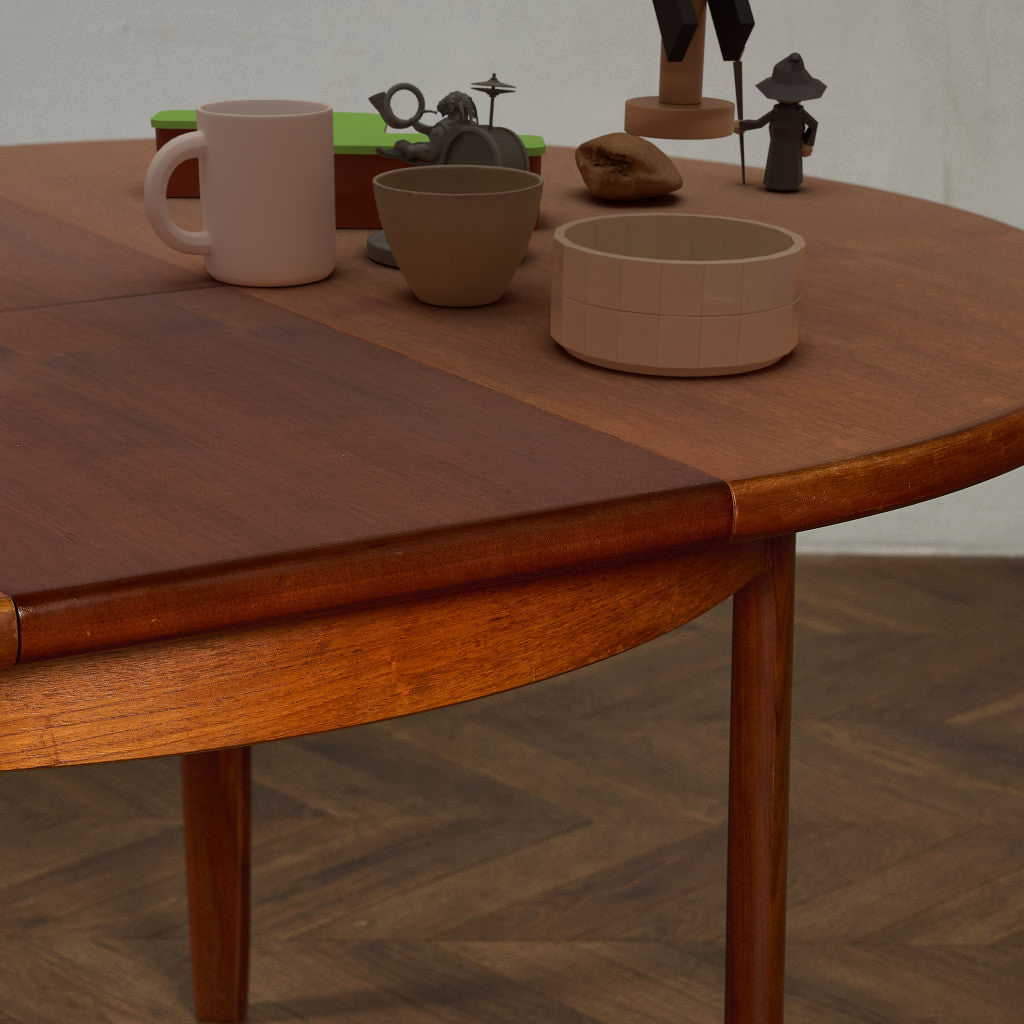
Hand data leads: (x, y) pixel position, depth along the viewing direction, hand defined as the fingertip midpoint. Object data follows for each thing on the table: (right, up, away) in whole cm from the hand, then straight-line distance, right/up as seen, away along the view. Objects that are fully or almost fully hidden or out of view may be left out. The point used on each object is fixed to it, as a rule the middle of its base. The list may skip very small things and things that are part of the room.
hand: (710, 42), depth 79 cm
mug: (-26, -8, +24) cm, 37 cm away
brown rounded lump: (0, +3, +53) cm, 53 cm away
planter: (-23, +1, +47) cm, 52 cm away
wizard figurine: (+12, +4, +58) cm, 59 cm away
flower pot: (-13, -10, +20) cm, 25 cm away
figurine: (-14, -6, +31) cm, 34 cm away
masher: (-1, -3, +5) cm, 6 cm away
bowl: (-1, -14, +10) cm, 17 cm away
